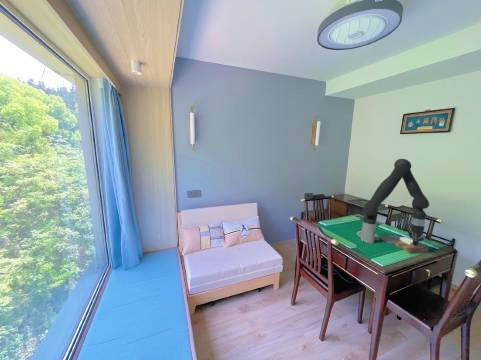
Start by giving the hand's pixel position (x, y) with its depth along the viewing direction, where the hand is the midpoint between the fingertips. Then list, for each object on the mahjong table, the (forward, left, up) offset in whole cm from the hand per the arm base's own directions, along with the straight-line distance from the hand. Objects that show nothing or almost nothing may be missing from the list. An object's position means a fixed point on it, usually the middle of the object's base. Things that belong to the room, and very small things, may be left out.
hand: (415, 245), depth 147 cm
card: (-6, 0, -1) cm, 6 cm away
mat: (-19, 0, -5) cm, 20 cm away
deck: (-4, 0, -5) cm, 6 cm away
